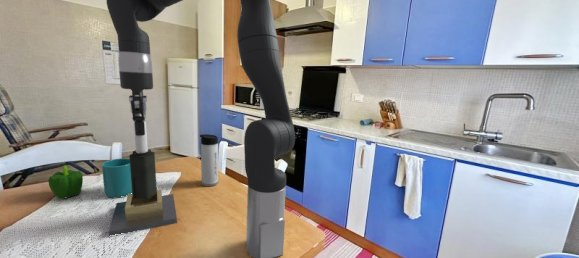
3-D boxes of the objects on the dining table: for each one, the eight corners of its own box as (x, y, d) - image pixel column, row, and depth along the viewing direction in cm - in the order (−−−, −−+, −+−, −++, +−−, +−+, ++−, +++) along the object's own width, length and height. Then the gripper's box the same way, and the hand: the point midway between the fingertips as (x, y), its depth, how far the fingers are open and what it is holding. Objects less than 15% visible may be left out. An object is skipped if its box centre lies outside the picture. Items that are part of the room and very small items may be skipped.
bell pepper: (79, 199, 80) (75, 170, 78) (46, 202, 76) (41, 173, 74) (88, 188, 87) (85, 162, 85) (59, 191, 84) (55, 163, 82)
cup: (149, 187, 91) (147, 158, 89) (116, 201, 80) (113, 168, 78) (131, 182, 94) (129, 154, 92) (98, 195, 83) (95, 164, 81)
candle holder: (176, 222, 70) (176, 205, 69) (108, 237, 62) (106, 217, 61) (173, 198, 84) (172, 183, 83) (117, 207, 76) (115, 191, 75)
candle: (158, 191, 74) (153, 110, 69) (147, 199, 69) (141, 112, 64) (142, 190, 74) (137, 109, 70) (130, 197, 69) (123, 111, 65)
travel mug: (200, 181, 98) (199, 133, 94) (216, 179, 101) (216, 132, 97) (201, 187, 93) (200, 137, 89) (219, 185, 95) (219, 136, 91)
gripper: (152, 71, 60) (155, 138, 64) (152, 71, 72) (155, 128, 76) (115, 69, 57) (121, 140, 60) (122, 70, 69) (127, 129, 72)
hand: (140, 133), depth 68 cm, fingers closed on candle, 3 cm apart
